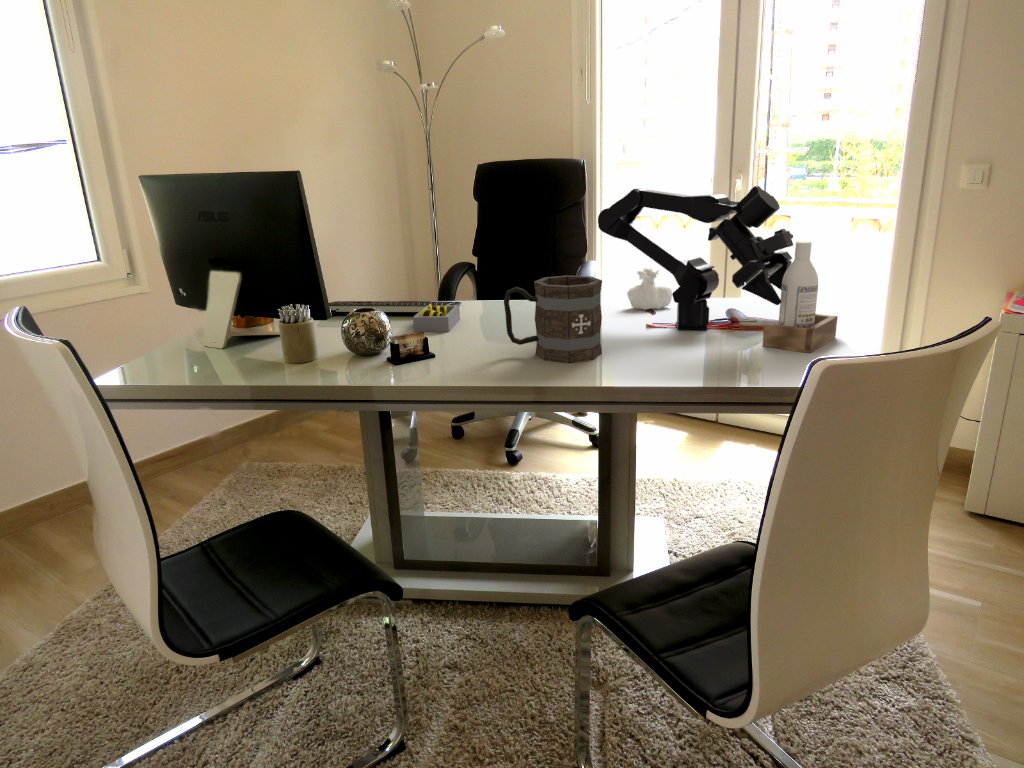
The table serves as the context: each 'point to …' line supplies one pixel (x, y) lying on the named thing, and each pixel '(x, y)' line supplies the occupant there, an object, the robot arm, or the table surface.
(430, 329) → the valet tray
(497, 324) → the table surface
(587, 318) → the mug
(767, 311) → the table surface
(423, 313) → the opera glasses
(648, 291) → the white tied sack
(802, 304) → the bath foam
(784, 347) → the u rest
